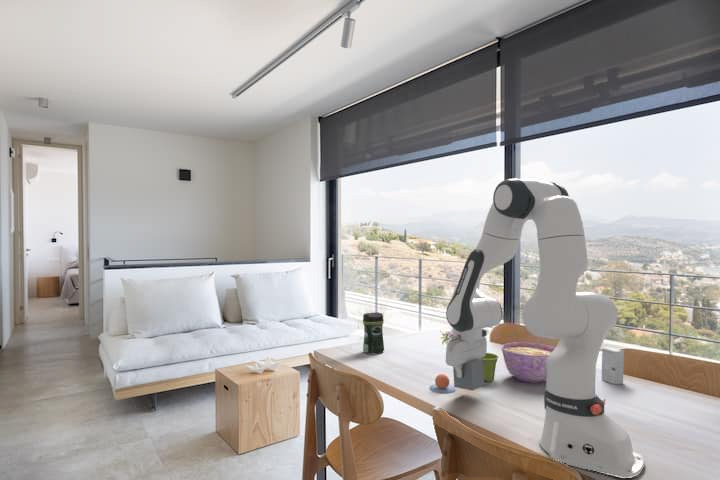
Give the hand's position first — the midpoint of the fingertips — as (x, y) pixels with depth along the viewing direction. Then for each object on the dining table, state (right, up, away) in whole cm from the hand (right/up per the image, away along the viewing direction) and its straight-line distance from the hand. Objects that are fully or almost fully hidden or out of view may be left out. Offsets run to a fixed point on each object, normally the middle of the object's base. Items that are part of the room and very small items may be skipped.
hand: (467, 374), depth 144 cm
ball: (-7, -5, +7) cm, 11 cm away
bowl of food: (+28, -8, +18) cm, 34 cm away
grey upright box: (+1, -4, -1) cm, 4 cm away
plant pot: (+12, -8, +18) cm, 23 cm away
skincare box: (+58, -7, +15) cm, 60 cm away
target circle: (-7, -7, +7) cm, 12 cm away
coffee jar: (-30, -8, +58) cm, 65 cm away
